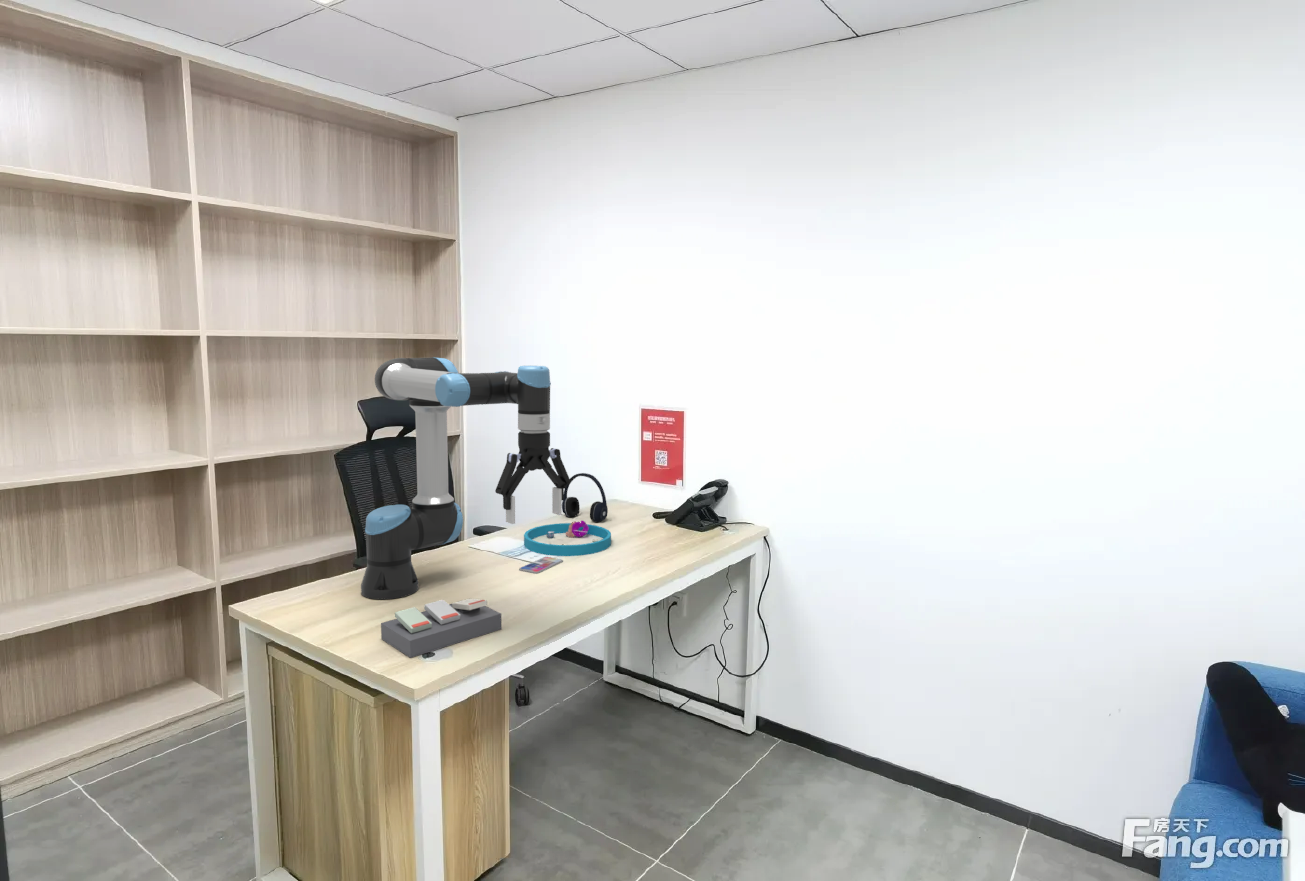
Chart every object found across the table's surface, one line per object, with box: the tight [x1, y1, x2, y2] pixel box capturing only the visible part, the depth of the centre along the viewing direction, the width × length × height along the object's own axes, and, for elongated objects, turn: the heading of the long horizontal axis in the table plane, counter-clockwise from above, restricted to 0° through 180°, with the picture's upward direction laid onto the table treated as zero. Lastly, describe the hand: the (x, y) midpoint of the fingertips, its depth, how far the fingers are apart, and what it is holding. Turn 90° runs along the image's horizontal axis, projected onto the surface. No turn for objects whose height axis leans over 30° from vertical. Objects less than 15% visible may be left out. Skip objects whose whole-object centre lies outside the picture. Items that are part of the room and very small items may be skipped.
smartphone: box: [518, 556, 564, 575], centre depth 232 cm, size 7×1×15 cm
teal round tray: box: [523, 520, 612, 557], centre depth 257 cm, size 30×30×6 cm
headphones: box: [562, 472, 609, 523], centre depth 290 cm, size 20×7×18 cm, turn 57°
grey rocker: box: [423, 599, 460, 625], centre depth 177 cm, size 8×5×1 cm, turn 46°
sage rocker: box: [394, 606, 432, 633], centre depth 171 cm, size 8×5×1 cm, turn 46°
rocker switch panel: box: [380, 603, 502, 659], centre depth 179 cm, size 19×24×5 cm
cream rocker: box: [451, 597, 488, 610], centre depth 182 cm, size 8×5×1 cm, turn 46°
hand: (534, 518), depth 178 cm, fingers open, 13 cm apart
